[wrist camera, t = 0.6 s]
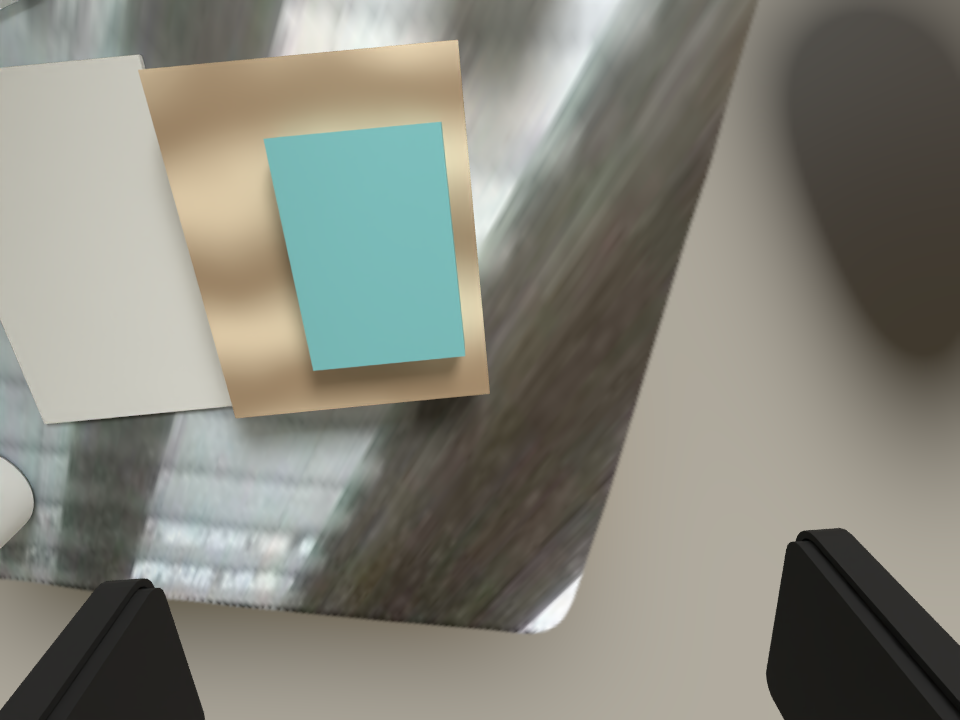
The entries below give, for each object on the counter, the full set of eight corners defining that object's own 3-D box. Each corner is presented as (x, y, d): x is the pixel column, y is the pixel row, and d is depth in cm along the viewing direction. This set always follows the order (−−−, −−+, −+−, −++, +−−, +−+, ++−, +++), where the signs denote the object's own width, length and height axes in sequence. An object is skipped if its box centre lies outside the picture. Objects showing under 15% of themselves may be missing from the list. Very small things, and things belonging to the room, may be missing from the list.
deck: (180, 76, 27) (137, 69, 24) (457, 49, 27) (457, 39, 24) (259, 385, 34) (235, 418, 30) (485, 363, 34) (489, 393, 30)
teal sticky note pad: (277, 137, 25) (263, 138, 23) (441, 121, 25) (440, 121, 23) (322, 354, 29) (313, 370, 27) (464, 340, 29) (465, 356, 27)
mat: (-97, 77, 27) (-103, 77, 27) (141, 55, 27) (138, 54, 27) (47, 421, 34) (44, 424, 34) (237, 403, 34) (236, 405, 34)
